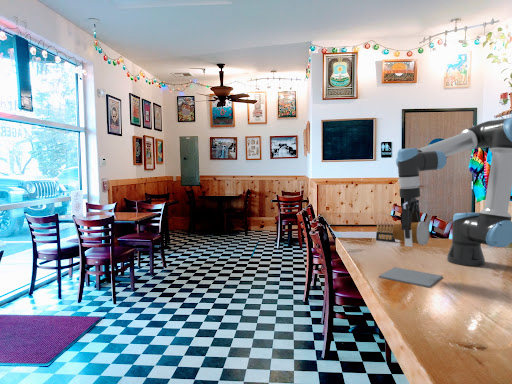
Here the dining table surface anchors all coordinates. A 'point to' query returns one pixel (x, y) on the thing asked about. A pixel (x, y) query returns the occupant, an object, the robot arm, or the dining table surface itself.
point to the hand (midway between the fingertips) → (412, 243)
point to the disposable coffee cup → (413, 232)
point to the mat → (411, 277)
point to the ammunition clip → (385, 232)
